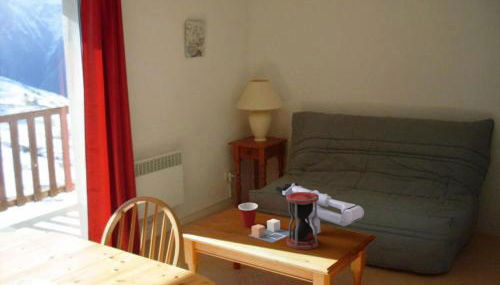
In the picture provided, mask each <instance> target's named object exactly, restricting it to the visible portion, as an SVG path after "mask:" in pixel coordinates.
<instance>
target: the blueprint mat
mask: <svg viewBox="0 0 500 285" xmlns="http://www.w3.org/2000/svg"><path fill="white" fill-rule="evenodd" d="M247 236H249V237H251V238H255V239H258V240H262V241H265V242H269V243H274V242H277V241H279V240H282V239H285V238H288V237H289V230H286V229H282V228H280V230H278V231H275V232H273V231H269V230H267V227H265V236H262V237H259V238H258V237H254V236H252V233H250V234H248V235H247ZM291 236H292V231H291Z"/></svg>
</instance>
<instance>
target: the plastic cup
mask: <svg viewBox="0 0 500 285" xmlns="http://www.w3.org/2000/svg"><path fill="white" fill-rule="evenodd" d="M258 206H259V205H258V204H257V203H255V202H244V203H241V204H239V205H238V210H239V212H240V216H241V222H242V225H243V227H244V228H252V226H255V221H256V215H257V209H258V208H259V207H258Z"/></svg>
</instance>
